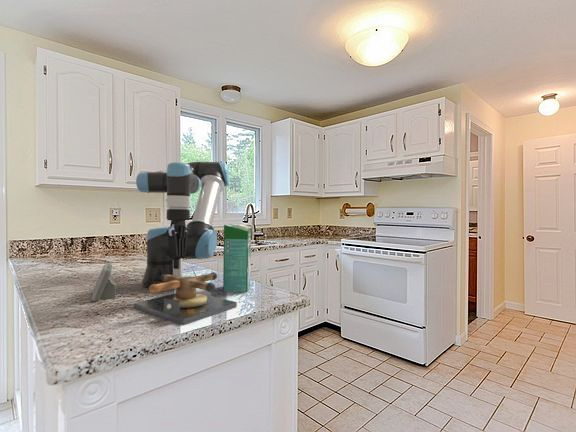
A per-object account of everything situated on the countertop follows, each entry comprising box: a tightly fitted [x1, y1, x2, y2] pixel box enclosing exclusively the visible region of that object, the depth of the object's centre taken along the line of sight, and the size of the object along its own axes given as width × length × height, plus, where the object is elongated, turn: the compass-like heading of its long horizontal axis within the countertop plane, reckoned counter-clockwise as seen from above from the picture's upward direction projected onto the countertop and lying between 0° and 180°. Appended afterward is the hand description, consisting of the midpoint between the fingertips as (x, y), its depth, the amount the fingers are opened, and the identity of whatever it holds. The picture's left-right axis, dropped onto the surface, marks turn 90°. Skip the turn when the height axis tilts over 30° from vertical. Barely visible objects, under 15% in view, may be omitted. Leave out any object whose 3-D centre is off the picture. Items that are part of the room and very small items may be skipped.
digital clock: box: [90, 262, 117, 302], centre depth 112 cm, size 16×9×11 cm, turn 16°
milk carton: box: [222, 223, 252, 293], centre depth 125 cm, size 9×9×25 cm
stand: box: [133, 292, 238, 326], centre depth 100 cm, size 24×21×6 cm
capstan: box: [148, 271, 218, 308], centre depth 101 cm, size 25×25×7 cm
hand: (177, 277), depth 111 cm, fingers closed
